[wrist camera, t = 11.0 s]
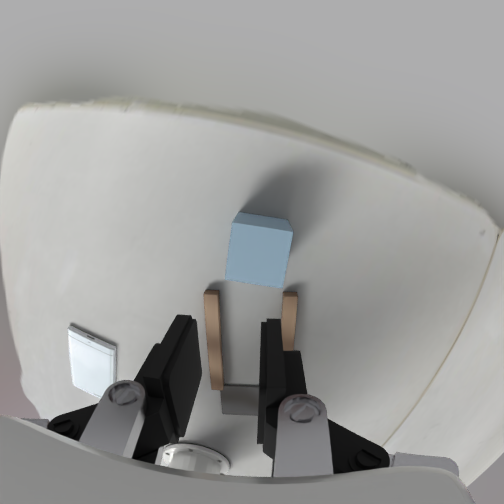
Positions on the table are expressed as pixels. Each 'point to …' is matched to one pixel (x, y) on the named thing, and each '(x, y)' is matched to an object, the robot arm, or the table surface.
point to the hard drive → (91, 362)
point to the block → (258, 250)
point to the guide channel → (232, 396)
